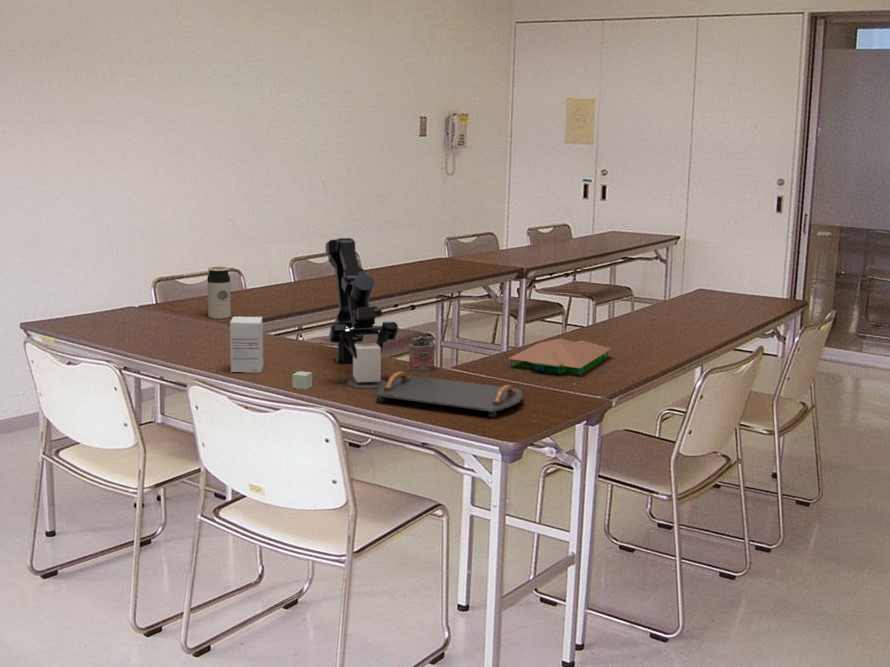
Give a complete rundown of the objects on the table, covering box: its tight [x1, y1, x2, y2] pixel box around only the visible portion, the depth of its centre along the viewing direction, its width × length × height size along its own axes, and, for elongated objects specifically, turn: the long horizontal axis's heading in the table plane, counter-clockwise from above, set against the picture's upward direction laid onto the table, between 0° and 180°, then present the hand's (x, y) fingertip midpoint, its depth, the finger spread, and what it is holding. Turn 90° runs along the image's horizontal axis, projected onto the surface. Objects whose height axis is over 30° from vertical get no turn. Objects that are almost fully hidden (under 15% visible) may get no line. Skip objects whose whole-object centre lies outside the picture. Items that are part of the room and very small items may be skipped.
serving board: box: [375, 371, 524, 418], centre depth 281 cm, size 39×23×6 cm, turn 67°
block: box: [292, 371, 313, 391], centre depth 291 cm, size 4×4×4 cm
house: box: [507, 338, 612, 376], centre depth 325 cm, size 23×33×8 cm
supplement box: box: [229, 316, 264, 374], centre depth 308 cm, size 9×9×15 cm
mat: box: [346, 378, 387, 390], centre depth 296 cm, size 11×11×1 cm
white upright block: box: [352, 342, 382, 382], centre depth 295 cm, size 6×6×10 cm
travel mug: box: [206, 266, 232, 320], centre depth 383 cm, size 8×8×18 cm
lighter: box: [408, 335, 436, 372], centre depth 313 cm, size 8×3×10 cm, turn 106°
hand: (368, 357), depth 293 cm, fingers closed on white upright block, 6 cm apart
